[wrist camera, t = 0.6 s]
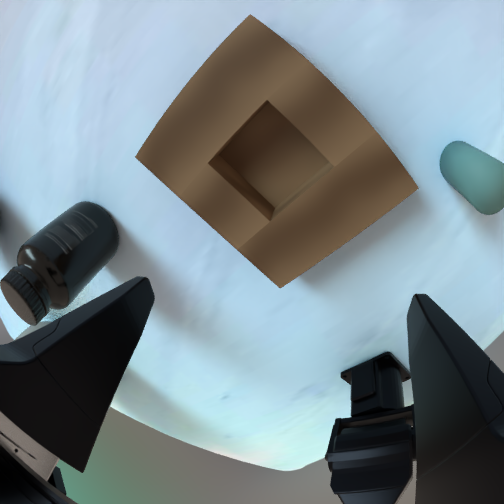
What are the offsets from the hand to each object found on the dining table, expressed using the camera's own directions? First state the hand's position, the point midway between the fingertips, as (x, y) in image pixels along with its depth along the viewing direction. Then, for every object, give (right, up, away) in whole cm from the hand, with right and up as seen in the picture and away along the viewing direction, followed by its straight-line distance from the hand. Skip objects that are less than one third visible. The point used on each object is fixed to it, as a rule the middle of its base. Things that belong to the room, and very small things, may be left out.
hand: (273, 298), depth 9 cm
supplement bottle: (-17, +4, +18) cm, 24 cm away
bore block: (+1, +8, +10) cm, 13 cm away
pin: (+14, +8, +7) cm, 17 cm away
